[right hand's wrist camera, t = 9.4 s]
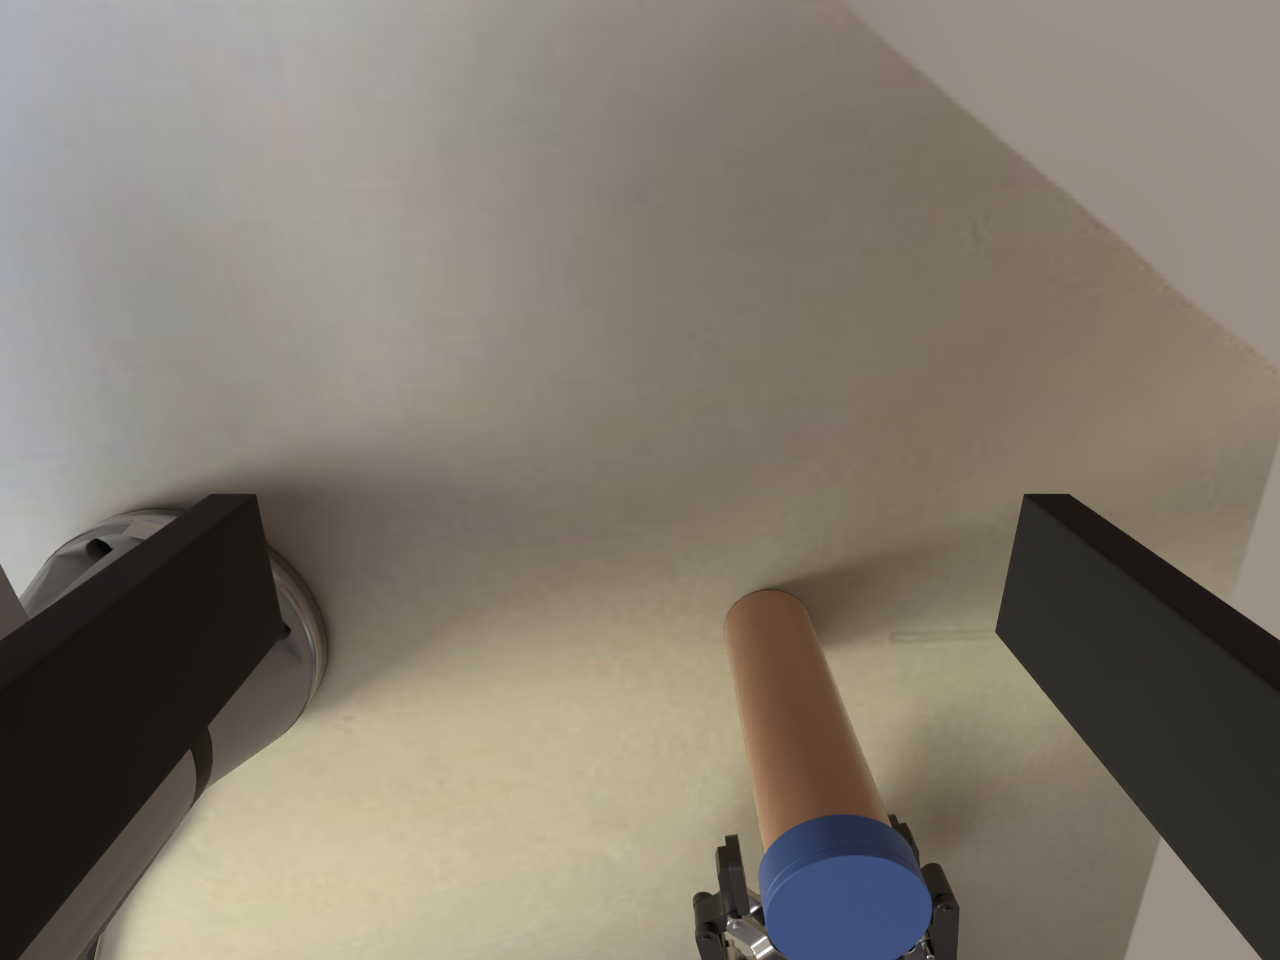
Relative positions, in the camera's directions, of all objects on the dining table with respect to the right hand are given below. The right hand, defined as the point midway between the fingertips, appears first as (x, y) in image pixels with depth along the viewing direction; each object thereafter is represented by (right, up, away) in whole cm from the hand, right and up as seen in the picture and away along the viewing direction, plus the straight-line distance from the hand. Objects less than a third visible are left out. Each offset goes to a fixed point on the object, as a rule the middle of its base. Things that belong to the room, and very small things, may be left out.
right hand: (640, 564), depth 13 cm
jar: (+7, -7, +28) cm, 30 cm away
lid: (+7, -13, +12) cm, 19 cm away
